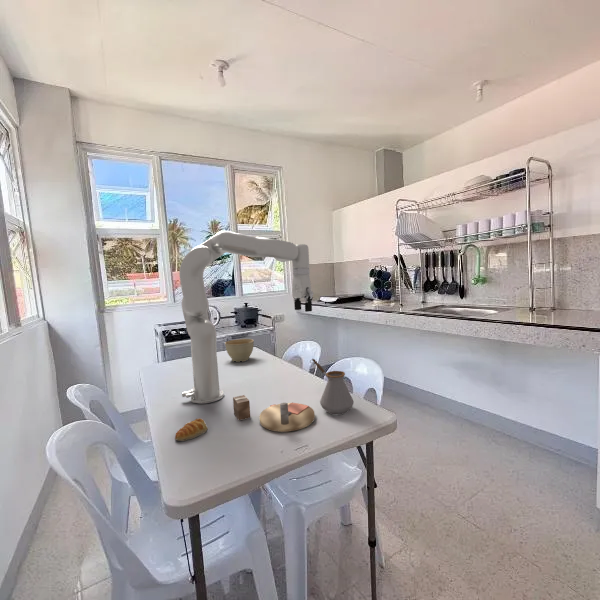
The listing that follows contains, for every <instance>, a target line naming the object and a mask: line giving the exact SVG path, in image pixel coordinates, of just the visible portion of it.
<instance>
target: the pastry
mask: <svg viewBox="0 0 600 600" xmlns="http://www.w3.org/2000/svg"><path fill="white" fill-rule="evenodd" d="M207 431H208V426H207V424H206V421H205V420H204V419H203V418H195V420H191V421H190V422H186V423H185V424H184V426H183V427H181V428H179V429H178V430H177V432H175V436H174V439H175V440H176V441H181V442H185V441H188V440H191V439H195V438H197V437H199V436H201V435H203V434H206V433H207Z"/></svg>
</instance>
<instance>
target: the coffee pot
mask: <svg viewBox="0 0 600 600" xmlns="http://www.w3.org/2000/svg"><path fill="white" fill-rule="evenodd" d="M311 361H312V362H311ZM309 363H310V364H313V365H315V366H316V367H317V369H318V370H320V372H321V373H323V375H324V376H325V377H326V378H327V382H326V385H325V388H324V390H323V393H322V396H321V398H320V400H319V403H320V406H321V408H322V409H323V410H324V411H326V413H328V414H329V415H335V416H336V415H337V416H338V415H339V416H340V415H344V414H347V413H348V412H349V411H350V410H351V409H353V408H352V407H353V406H354V398H353V397H352V395H351V393H350V391H349V388H348V385H346V381H345V380H344V377H345V376H346V373H345V372H344V371H343V370H342V371H341V370H331V371H328V372H326V371H325V369H324V368H323V367H322V366H321V364H319V363H318V361H317V360H316V359H314V358H312V359H311V360H310V361H309Z"/></svg>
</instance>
